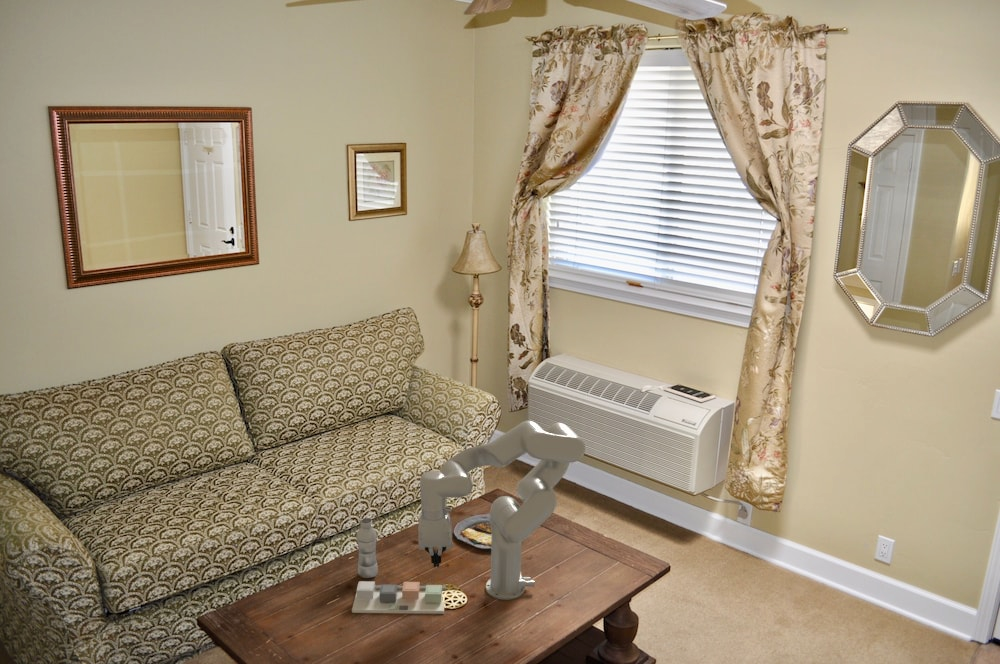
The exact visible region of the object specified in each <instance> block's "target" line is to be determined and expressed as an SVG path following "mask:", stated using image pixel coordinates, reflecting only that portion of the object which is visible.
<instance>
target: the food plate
mask: <svg viewBox="0 0 1000 664" xmlns="http://www.w3.org/2000/svg"><path fill="white" fill-rule="evenodd" d="M489 525H490V526H489ZM473 528H474V529H473ZM475 529H476V530H475ZM453 534H454V536H455V537H456V539H457V540H460V541H462V542H464V543H466V544H468V545H471V546H473V547H475V548H478V549H482V550H491V543H492V534H491V523H490V513H487V514H475V515H471V516H467V518H464V519H462V520H461V521H458V522H457V524H456V525H455V527H454V530H453Z"/></svg>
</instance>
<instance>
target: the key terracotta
mask: <svg viewBox="0 0 1000 664" xmlns="http://www.w3.org/2000/svg"><path fill="white" fill-rule="evenodd" d="M420 582H421V581H403V583H402V586H403V589H402V599H408V600H419V593H420V586H421V583H420Z"/></svg>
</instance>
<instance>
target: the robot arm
mask: <svg viewBox="0 0 1000 664" xmlns="http://www.w3.org/2000/svg"><path fill="white" fill-rule="evenodd" d="M585 445H586V444H585V442H584V440H583V439H582V438H581V437H580V436H579V435H578V434H577V433H576V432H575V431H574V430H573V429H572V428H571V427H569V426H568V425H567V424H565V423H563V422H554V423H553V424H551V425H550V426H549V428H548V429H547V431H545V429H544V428H543V427H541V426H540V425H539V424H538V423H537V422H535V421H533V420H524V421H522V422H520V423H519V424H517V425H516V426H515V427H513V428H511V429H510V430H508V431H506V432H505V433H503V434H502V435H500V436H499V437H497V438H495V439H494V440H492V441H491V442H489V443H487V444H486V443H485V444H481V445H477V446H472V447H469V448H466V449H464V450H462V451H460V452H458V453H457V454H455V455H454V456H452V457H450V458H449V459H448V460H447V461H445V462H444V464H443V465H442V466H441V468H440V469H439V470H440V471H437V470H429V471H426V472H424V473H422V474H421V476H420V477H419V478H420V479H419V491H420V505H421V506H420V507H421V509H420V510H421V512H420V514H419V517H418V529H417V530H418V534H417V536H418V537H417V538H418V540H417V541H418V545H417V548H418V550H422V551H426V552H427V553H428V554H429V556H430V558H431V559H430V560H431V561H430V563H431V564H433V568H439V567H440V564H442V554H443V553H444V552H446V550H450V549H453V548H454V542H453V540H452V539H453V528H452V520H451V516H450V513H451V512H452V507H449V506H448V505H447V498H455V499H457V498H463V497H467V496H468V495H470V493H471V492H472V490H473V489H474V483H473V480H472V479H471V477H470V475H469V474H468V473H469V472H471V471H473V470H474V469H477V468H480V467H485V466H488V467H489V466H490V467H494V468H505V467H507V466H508V465H510V464H511V463H512V462H514V461H516V460H517V459H519V458H520V457H522V456H523V455H526V454H528V455H529V456H530V457H531V458H534V459H537V460H540V461H538V463H537V464H536V465H534V467H533V468H532V469H530V471H529V472H528V473H527V474H526V475H525V476H524V477H523V478H522V479H521V480H520V481H519V482H518V483H517V486H516V493H517V495H518V497H519V499H520V500H521V501H522V504H520V503H519V502H518V501H517V500H516V499H515V498H514V497H511V496H509V495H504V496H503V495H502V496H499V497H497V498H496V499H495V500H494V501H493V502H492V504H491V506H490V510H489V514H490V523H491V524H490V527H491V534H492V543H491V549H490V578H489V579H488V580H487V581H486V584H485V591H486V593H487V594H488V595H489V596H490V597H492V598H495V599H498V600H502V601H503V600H504V601H506V600H507V601H509V600H515V599H518V598H520V597H521V596H523V594H525V593H524V592H525V590H526V587H531V588H533V587H535V586H536V585H535V584H536V582H535V580H532V579H531V577H530V576H522V571H521V570H522V569H521V567H522V545H523V544H522V543H523V541H525V540H526V539H527V540H528V538H530V536H531V535H533V533H535V531H536V530H538V529H539V528H540V526H542V524H544V523H545V522H546V520H548V519H549V518H550V516H551V515H552V514H553V513H554V511H555V509H556V507H557V504H558V498H557V494H556V492H555V490H554V487H555V486H556V485H558V483H559V482H560V480H561V479H562V478H563V477H564V476H565V475H566V472H567V471H568V469H569V466H570V463H571V464H573V463H575V462H578V461H580V460H581V459H582V458H583V456H584V455H585V453H586V446H585ZM435 548H437V550H435Z"/></svg>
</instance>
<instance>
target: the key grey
mask: <svg viewBox="0 0 1000 664" xmlns="http://www.w3.org/2000/svg"><path fill="white" fill-rule="evenodd" d="M375 585H376V581H373V580H371V581H370V580H369V581H365V580H364V581H362V580H360V581H358V584H357V586H358V587H356V593H357V599H373V597H374V593H375Z"/></svg>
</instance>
